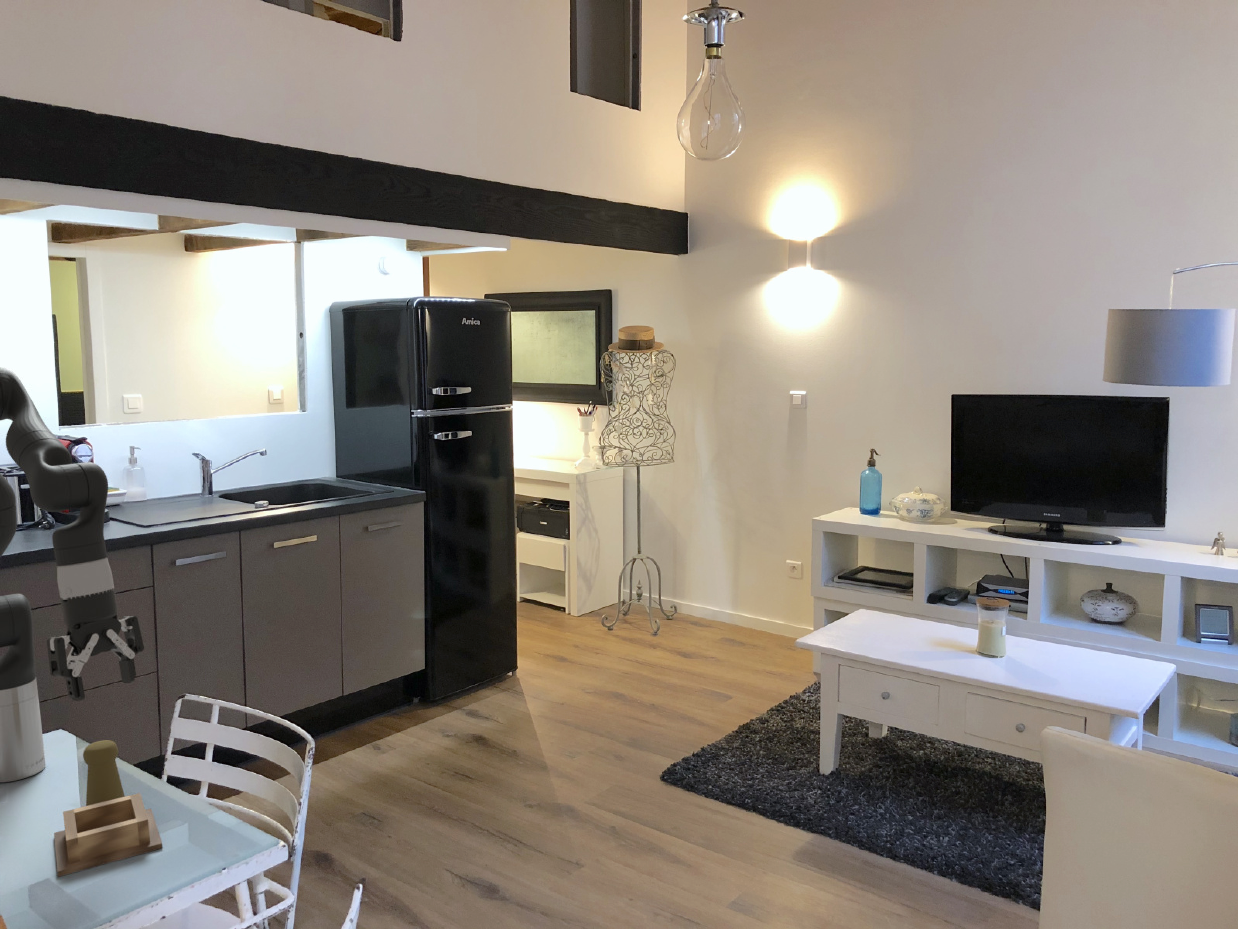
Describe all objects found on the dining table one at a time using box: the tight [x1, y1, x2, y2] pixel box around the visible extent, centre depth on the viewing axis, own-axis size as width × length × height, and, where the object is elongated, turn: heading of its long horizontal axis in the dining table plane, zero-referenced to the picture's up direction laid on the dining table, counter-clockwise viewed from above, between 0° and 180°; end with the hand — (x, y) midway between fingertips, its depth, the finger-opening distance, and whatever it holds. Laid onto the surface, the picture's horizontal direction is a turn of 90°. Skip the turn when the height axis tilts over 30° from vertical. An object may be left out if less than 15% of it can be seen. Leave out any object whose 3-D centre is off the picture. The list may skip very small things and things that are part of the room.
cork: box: [82, 739, 125, 806], centre depth 162 cm, size 6×6×11 cm
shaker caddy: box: [53, 792, 163, 877], centre depth 150 cm, size 14×14×4 cm
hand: (104, 691), depth 151 cm, fingers open, 8 cm apart
